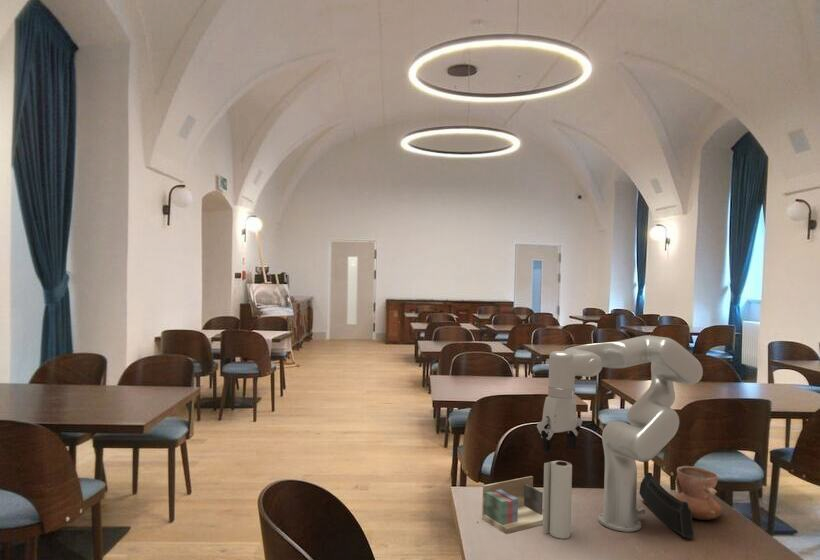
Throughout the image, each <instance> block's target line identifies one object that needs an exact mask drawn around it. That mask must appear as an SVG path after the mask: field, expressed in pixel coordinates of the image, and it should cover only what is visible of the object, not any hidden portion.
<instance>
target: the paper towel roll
mask: <svg viewBox="0 0 820 560" xmlns="http://www.w3.org/2000/svg"><path fill="white" fill-rule="evenodd" d="M572 483H573V464H572V463H571V462H570V461H569V462H568V461H565V460H553V461H548V462H544V463H543V491H542V492H543V505H542V509H543V525H542V534H546V533H549V535H550V536H552V537H554V538H557V539H563V540H564V539H569V538H570V537H571V529H572V527H571V525H572V524H571V523H572V486H573V485H572Z"/></svg>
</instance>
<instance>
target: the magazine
mask: <svg viewBox="0 0 820 560" xmlns="http://www.w3.org/2000/svg"><path fill="white" fill-rule="evenodd" d="M638 493H639V495H640V496H641V498H642V499H643V501H644V503H645V505H646V504H647V506H648V508H649V509H650V511H651V512H652V513H653V514H654V515H655V516H656V517H657V518H658V519H659V520H660V521H661V522H662V523H663V524H664V525H665V526H667V527H668V528H669V529H671V530H673V532H675V533H678V534H679V535H681V536H682V537H683V538H688V539H689V538H690V539H692V538H694V537H695V534H694V532H695V531H694V525H693V524H694V523H693V518H692V515H691V510H690V509H689V507H688V503H686V502H682V501H680V500H678V499H676V498H675V497H674V496H675V495H672V494H671V493H669V492H668V491H667V490H666V489H665V488H664V487H663V486H662V485H661V484H660V483H659V482H658V481H657V479H656V478H655V477H654V476H653V473H652V472H646V473H645V476H644V477H643V478H642V480H641V482H640V486H639V491H638Z"/></svg>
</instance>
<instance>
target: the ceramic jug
mask: <svg viewBox="0 0 820 560" xmlns="http://www.w3.org/2000/svg"><path fill="white" fill-rule="evenodd" d="M676 474H677V475H676V479H675V485H676V489H677V493H678V494H677V493H676V495H673V496H674V497H675V498H676V499H678V500H680V501H682V502H686V503H688V507H689V509H690V510H691V515H692V519H694V520H701V521H709V520H714V519H717V518H718V517H720V516H721V514H722V512H723V511H722V506H721V505H720V504H719V502H717V501H716V500H715V499H714V498H713V497H712V495H714V494H715V493H716V494H717V493H718V491H717V490H716V489H715V488H716V486H717V484H718V480H719V475H718V474H717V473H716V472H714V471H711V470H708V469H704V468H702V467H701V468H700V467H696V466H689V465H683V466H678V467H677V468H676Z"/></svg>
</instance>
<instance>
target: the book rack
mask: <svg viewBox="0 0 820 560" xmlns="http://www.w3.org/2000/svg"><path fill="white" fill-rule="evenodd" d="M543 492H544V491H541V490H540V489H536V488H534V476H532V475H530V476H524V477H520V478H519V477H518V478H514V479H509V480H504V481H499V482H494V483H493V482H492V483H488V484H483V485H482V512H481V513H482V516H481V518H482V520H484V521H485V522H487V523H488V524H490V525H492V526H493V527H495V528H496V529H498V530H499V531H501V532H503V533H504V534H505V535H507V534H511V533H517V532H520V531H523V530H527V529H530V528H531V529H532V528H536V527H538V526H543Z"/></svg>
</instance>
